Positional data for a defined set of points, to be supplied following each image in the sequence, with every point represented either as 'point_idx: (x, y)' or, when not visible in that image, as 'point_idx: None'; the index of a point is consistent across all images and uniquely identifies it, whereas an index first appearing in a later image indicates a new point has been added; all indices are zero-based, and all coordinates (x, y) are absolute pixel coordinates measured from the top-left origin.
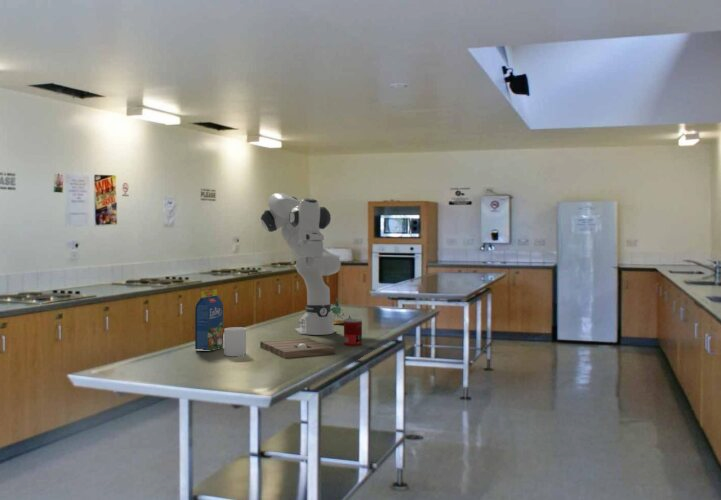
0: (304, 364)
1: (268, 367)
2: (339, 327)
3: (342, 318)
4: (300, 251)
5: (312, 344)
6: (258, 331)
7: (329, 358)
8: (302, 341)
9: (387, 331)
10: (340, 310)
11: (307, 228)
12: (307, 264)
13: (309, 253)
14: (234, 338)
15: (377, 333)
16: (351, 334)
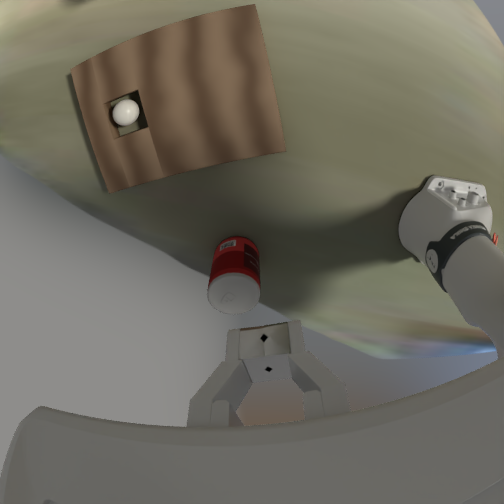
0: (22, 117)
1: (11, 54)
2: None
3: None
4: (474, 437)
5: (161, 144)
6: (500, 100)
7: (67, 169)
8: (220, 123)
9: (373, 342)
10: None
11: None
12: (260, 348)
13: (116, 462)
14: None
15: (362, 326)
16: (213, 263)
